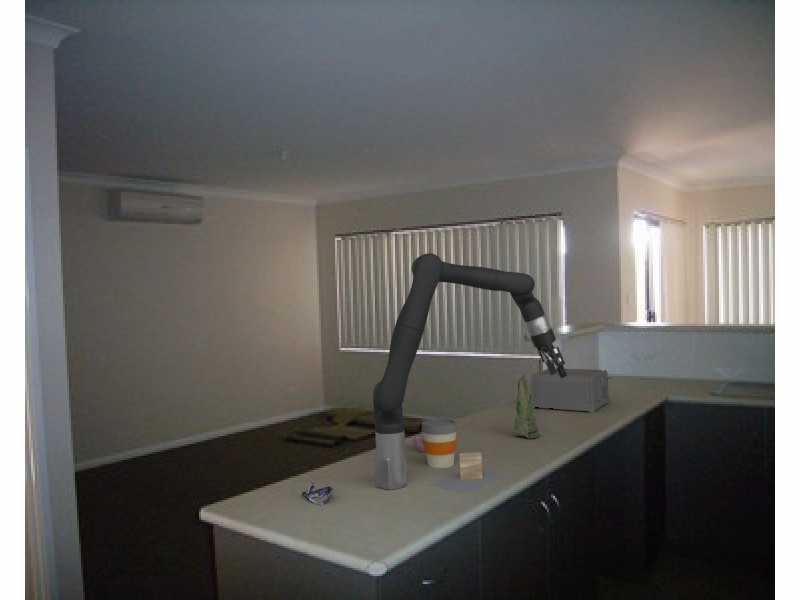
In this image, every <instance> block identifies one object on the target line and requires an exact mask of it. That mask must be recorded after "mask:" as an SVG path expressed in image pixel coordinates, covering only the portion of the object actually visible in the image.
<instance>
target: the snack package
mask: <svg viewBox="0 0 800 600" xmlns="http://www.w3.org/2000/svg"><path fill="white" fill-rule="evenodd" d="M314 488H315V483H314V482H313V481H311V482H310V484H309V485H308V487H307V489H306V490H305V491H302V493H301V495H302V496H303V497H306V498H307V499H309V501H310V502H312V503H314V504H316V501H317V498H318V497H319V498H321V501H319V504H317V505H318V506H323V505H324V503H325V502H326V501H327V500H328V498H329V496H330V495H331V494H332V492H333V490H334V487H331V486H324V487H321V488H317V489H316V490H314Z"/></svg>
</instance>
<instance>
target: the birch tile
mask: <svg viewBox="0 0 800 600" xmlns="http://www.w3.org/2000/svg"><path fill="white" fill-rule="evenodd" d="M458 458H459V459H458V462H459V463H458V465H459V472H460V479H475V478H482V472H483V466H482V465H483V462H482V460H483V459H482V452H481V451H473V452H459V453H458Z"/></svg>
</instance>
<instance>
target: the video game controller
mask: <svg viewBox="0 0 800 600" xmlns="http://www.w3.org/2000/svg"><path fill="white" fill-rule="evenodd" d="M412 444H413V445H414V447H416V449H417V450H418V451H420V452H421V453H425V451H424V445H423V433H420V434H418V435H416V436H415V437H414V438H413V439H412Z"/></svg>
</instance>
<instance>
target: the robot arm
mask: <svg viewBox="0 0 800 600" xmlns="http://www.w3.org/2000/svg"><path fill="white" fill-rule="evenodd" d="M411 273H412V275H413V278H412V283H411V287H410V291H409V294H408V295H407V298H406V300H405V302H404V303H403V306H402V307H401V310H400V312H399V313H398V316H397V320H396V321H395V325H394V328H393V331H392V335H391V338H390V339H391V340H390V345H389V353H388V360H387V365H386V369H385V371H384V374H383V377H382V378H381V380H380V381H379V382H377V383H376V385H375V386H374V388H373V393H372V399H373V401H372V402H373V403H372V405H373V420H374V428H375V429H374V430H375V431H374V433H375V448H376V449H375V452H376V456H374V460H373V461H374V482H375V488H376V487H377V488H380V489H382V490H383V489H384V490H388V491H391V490H397V489H401V488H404V487H406V486H407V485H408V484H407V481H408V480H407V463H406V462H407V461H406V460H407V459H406V440H405V439H406V438H405V437H406V436H405V434H406V433H405V420H404V415H403V414H404V413H403V403H404V399H405V395H406V389H407V385H408V380H409V375H410V371H411V369H412V365H413V363H414V360H415V359H416V356H417V352H418V349H419V347H420V344H421V341H422V338H423V336H424V331H425V328H426V324H427V320H428V316H429V312H430V308H431V303H432V300H433V298H434V297H433V296H434V294H435V293H436V289H437V287H438V284H439V283H450V284H454V285H455V284H458V285H462V286H467V287H471V288H476V289H480V290H487V291H491V292H493V291H495V292H507V293H509V294H510V296H511V298H512V299H513V301H514V302H515V304H516V306H517V307H518V309H519V311H520V314H521V317H522V319H523V321H524V323H525V327H526V329H527V332H528V335H529V337H530V340H531V342H532V345H533V347H534V348H536V349H537V351H538V355H539V357H540V359H541V362H542V363H544V365H545V366H546V368H547V369H548V370H549V372H550V374H551V375H553V374H555V373H557V371H558V373H559V376H560V378H564V377H566V376H567V373H566V371H565V369H566V368H565V366H564V365H565V364H566V361H565V359H564V357H563V355H562V352H561V350H560V348H559V347H558V346H554V344H553V343H555V341H556V340H557V338H556V335H555V332H554V330H553V329H552V326H551V323H550V321H549V319H548V317H547V315H546V313H545V310H544V308H543V305H542V304H541V302H540V300H539V299H537V298H536V297H535V295H534V294H533V293H534V292H533V291H534V290H535V285H536V284H535V280H534V278H533V277H532V276H531V275H529V274H527V273H524V272H519V271H517V272H516V271H505V270H500V269H495V268H490V267H485V266H476V265H474V266H473V265H462V264H454V263H449V262H446V261H443V260H442V259H441V258H440V256H439V255H437V254H435V253H431V252H430V253H424V254H422V255H420V256H418V257H416V258H415V259H414V261H413V263H412V265H411ZM556 369H557V371H556Z"/></svg>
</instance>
